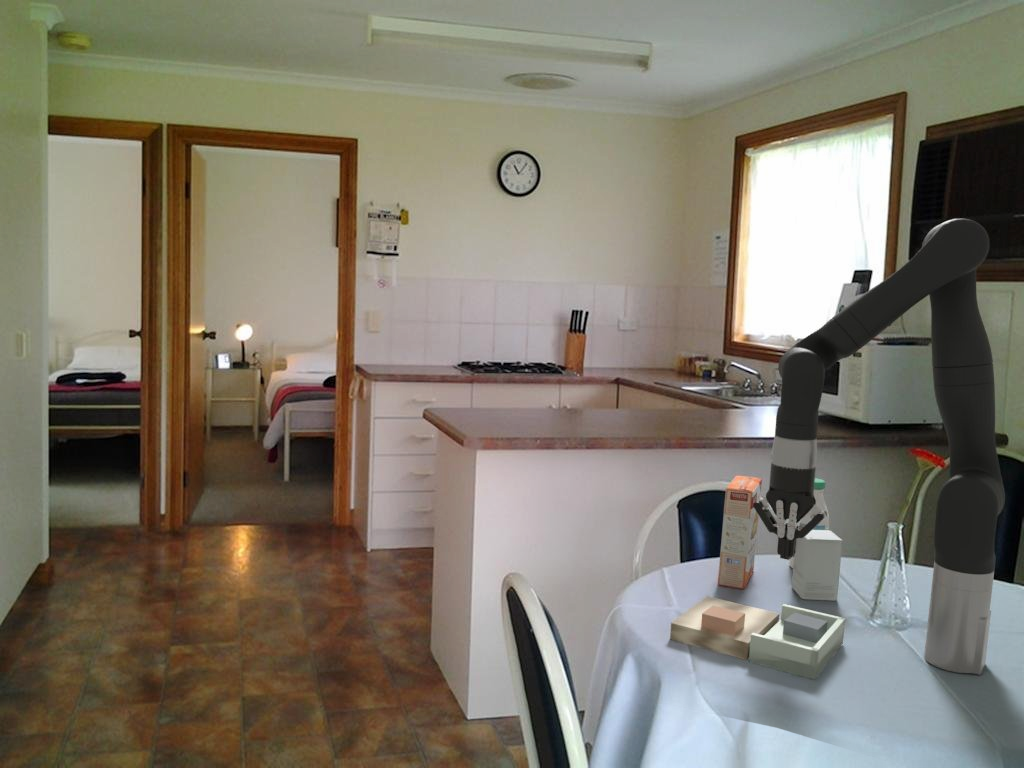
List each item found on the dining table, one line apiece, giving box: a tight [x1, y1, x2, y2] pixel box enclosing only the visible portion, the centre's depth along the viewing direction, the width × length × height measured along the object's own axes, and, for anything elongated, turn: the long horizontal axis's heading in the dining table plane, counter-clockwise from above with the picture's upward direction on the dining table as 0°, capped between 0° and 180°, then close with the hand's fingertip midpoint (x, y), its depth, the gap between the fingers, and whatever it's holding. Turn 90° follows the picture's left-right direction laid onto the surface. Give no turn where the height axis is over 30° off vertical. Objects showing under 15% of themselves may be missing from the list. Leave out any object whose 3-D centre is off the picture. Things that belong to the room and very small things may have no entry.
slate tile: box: [783, 613, 828, 643], centre depth 168 cm, size 6×5×2 cm
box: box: [748, 603, 846, 681], centre depth 165 cm, size 11×18×5 cm, turn 147°
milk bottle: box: [788, 477, 830, 569], centre depth 211 cm, size 8×8×20 cm
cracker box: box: [717, 474, 763, 590], centre depth 202 cm, size 14×6×21 cm, turn 158°
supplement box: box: [791, 529, 843, 602], centre depth 195 cm, size 7×7×13 cm
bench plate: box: [669, 595, 780, 661], centre depth 172 cm, size 14×17×3 cm
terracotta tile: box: [701, 606, 745, 636], centre depth 168 cm, size 6×5×2 cm
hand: (785, 557), depth 169 cm, fingers closed
